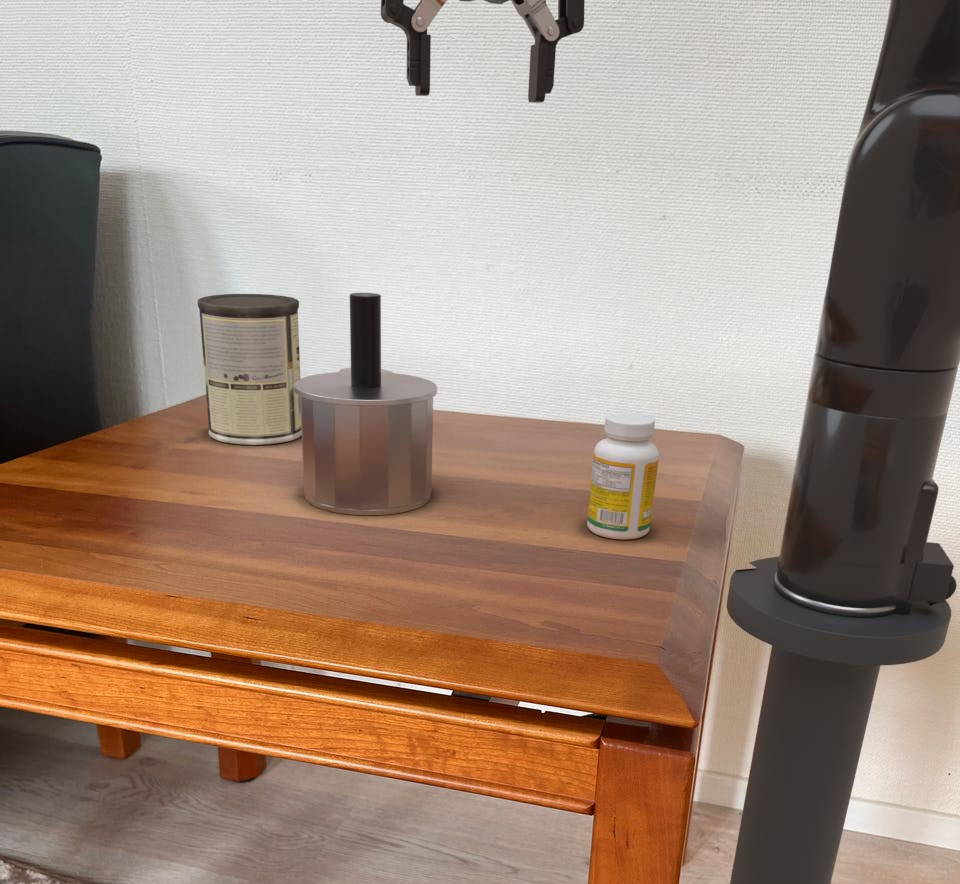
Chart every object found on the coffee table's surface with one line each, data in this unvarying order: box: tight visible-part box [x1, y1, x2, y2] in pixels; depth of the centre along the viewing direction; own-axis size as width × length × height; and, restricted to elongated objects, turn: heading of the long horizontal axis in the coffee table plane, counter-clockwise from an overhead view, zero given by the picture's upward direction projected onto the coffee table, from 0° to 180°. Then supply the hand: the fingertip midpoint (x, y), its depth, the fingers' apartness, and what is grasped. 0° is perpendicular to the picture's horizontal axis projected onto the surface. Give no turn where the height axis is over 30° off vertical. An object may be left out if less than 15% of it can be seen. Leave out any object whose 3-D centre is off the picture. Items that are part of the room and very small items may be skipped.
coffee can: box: [197, 293, 302, 446], centre depth 109 cm, size 10×10×14 cm
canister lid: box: [294, 292, 438, 406], centre depth 87 cm, size 12×12×9 cm
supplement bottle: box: [586, 412, 660, 541], centre depth 85 cm, size 5×5×10 cm
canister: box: [300, 396, 434, 516], centre depth 91 cm, size 11×11×10 cm
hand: (480, 98), depth 74 cm, fingers open, 8 cm apart
